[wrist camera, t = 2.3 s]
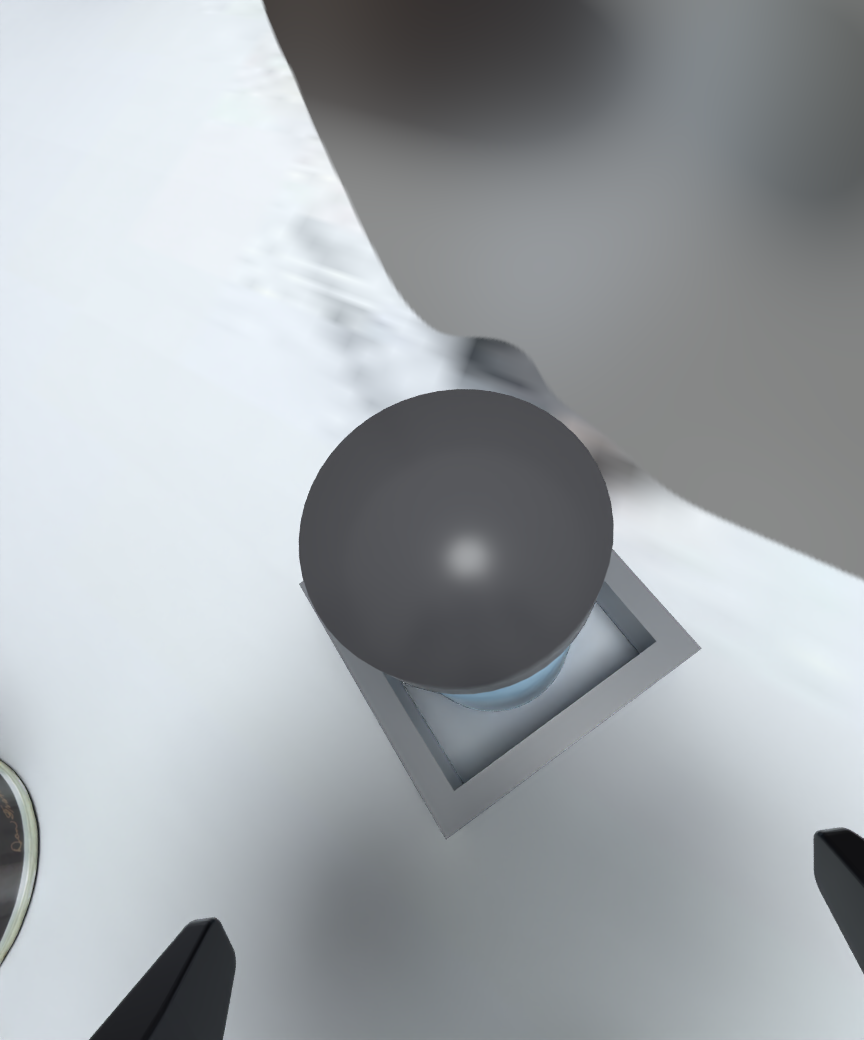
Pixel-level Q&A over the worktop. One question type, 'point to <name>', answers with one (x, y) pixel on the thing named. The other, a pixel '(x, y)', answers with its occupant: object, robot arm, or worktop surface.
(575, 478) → the blue-grey upright cylinder
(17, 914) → the coffee can
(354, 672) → the cartridge housing
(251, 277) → the worktop surface
